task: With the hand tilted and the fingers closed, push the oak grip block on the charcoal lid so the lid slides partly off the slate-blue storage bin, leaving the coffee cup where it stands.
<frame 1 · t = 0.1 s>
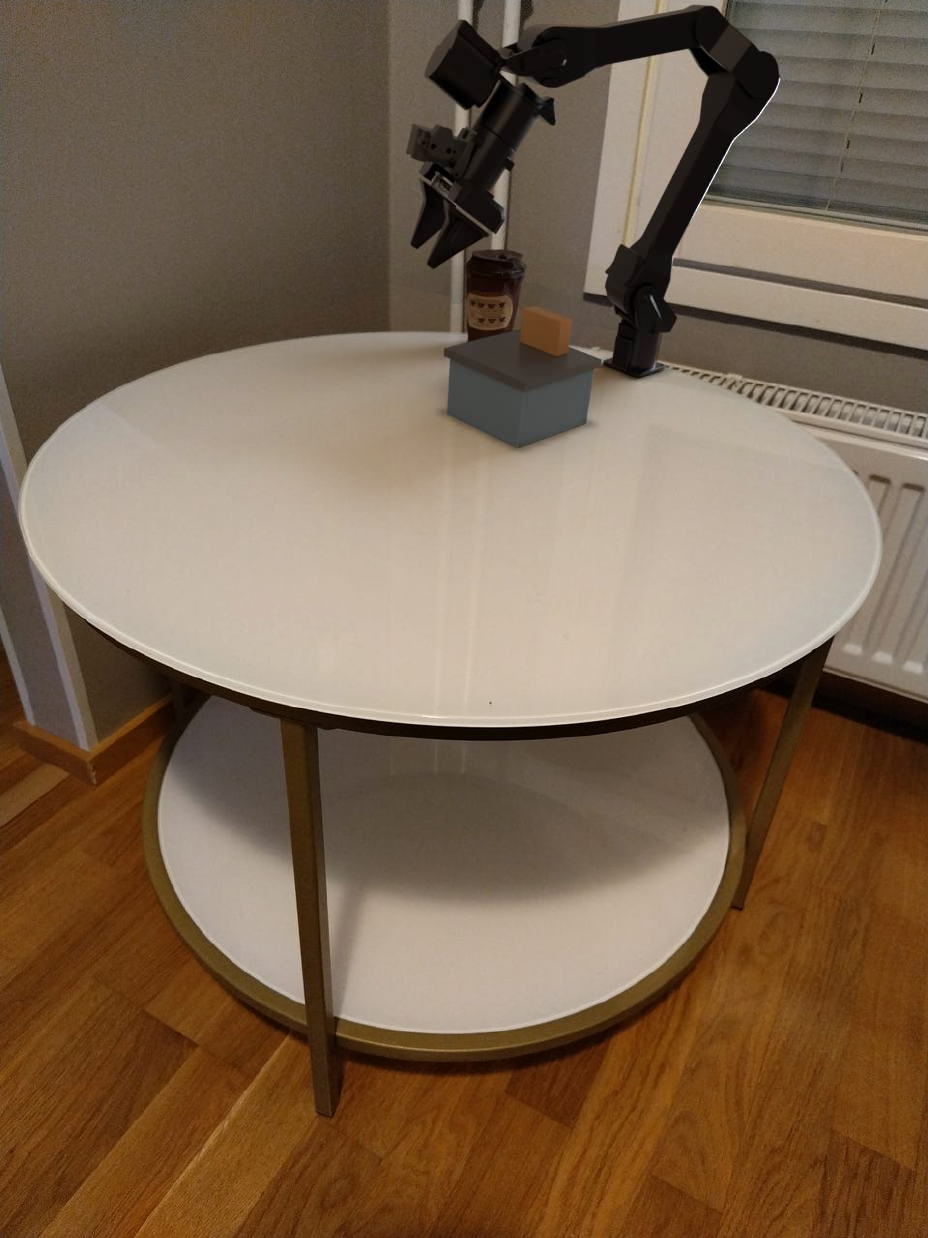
hand: (421, 256, 106), 15 cm above the table, tool tilted 35°, fingers open, 9 cm apart
lid: (522, 361, 100), point 7 cm above the table, touching bin
bin: (516, 418, 104), on the table
coffee cup: (489, 349, 125), on the table
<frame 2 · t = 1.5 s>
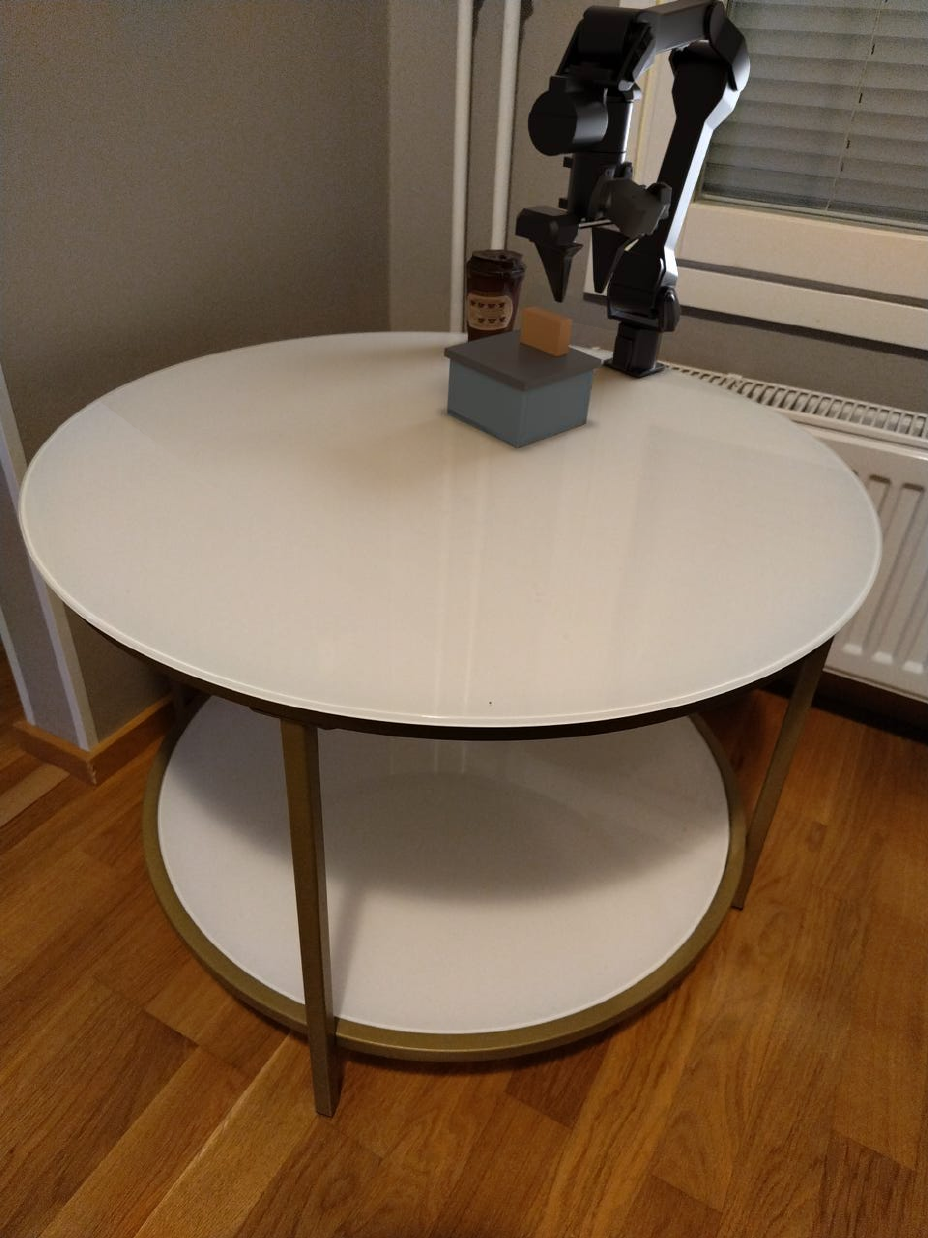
hand: (579, 297, 102), 13 cm above the table, tool pointing down, fingers open, 7 cm apart
nothing on the table moved.
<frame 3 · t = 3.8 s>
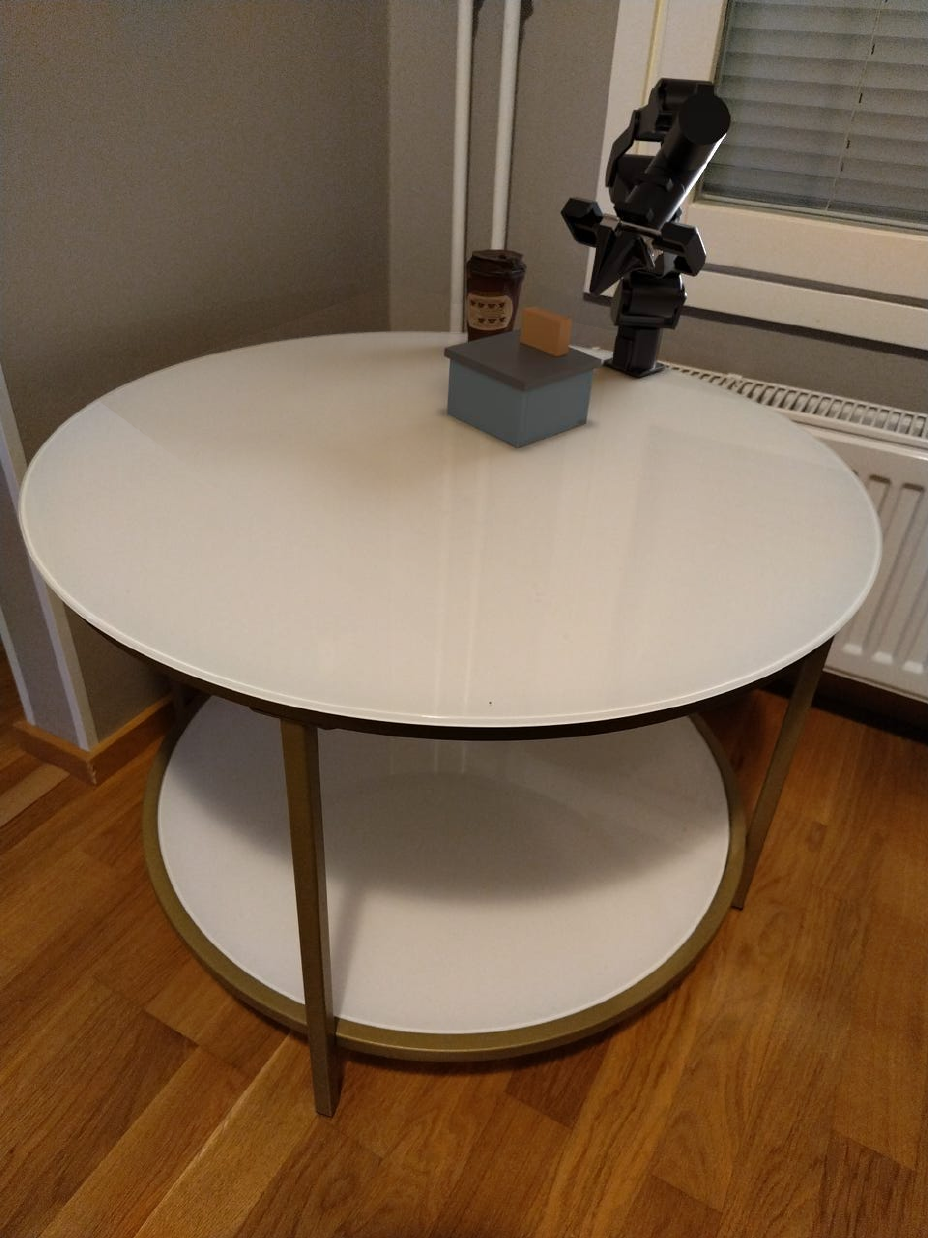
hand: (592, 294, 103), 13 cm above the table, tool tilted 45°, fingers closed
nothing on the table moved.
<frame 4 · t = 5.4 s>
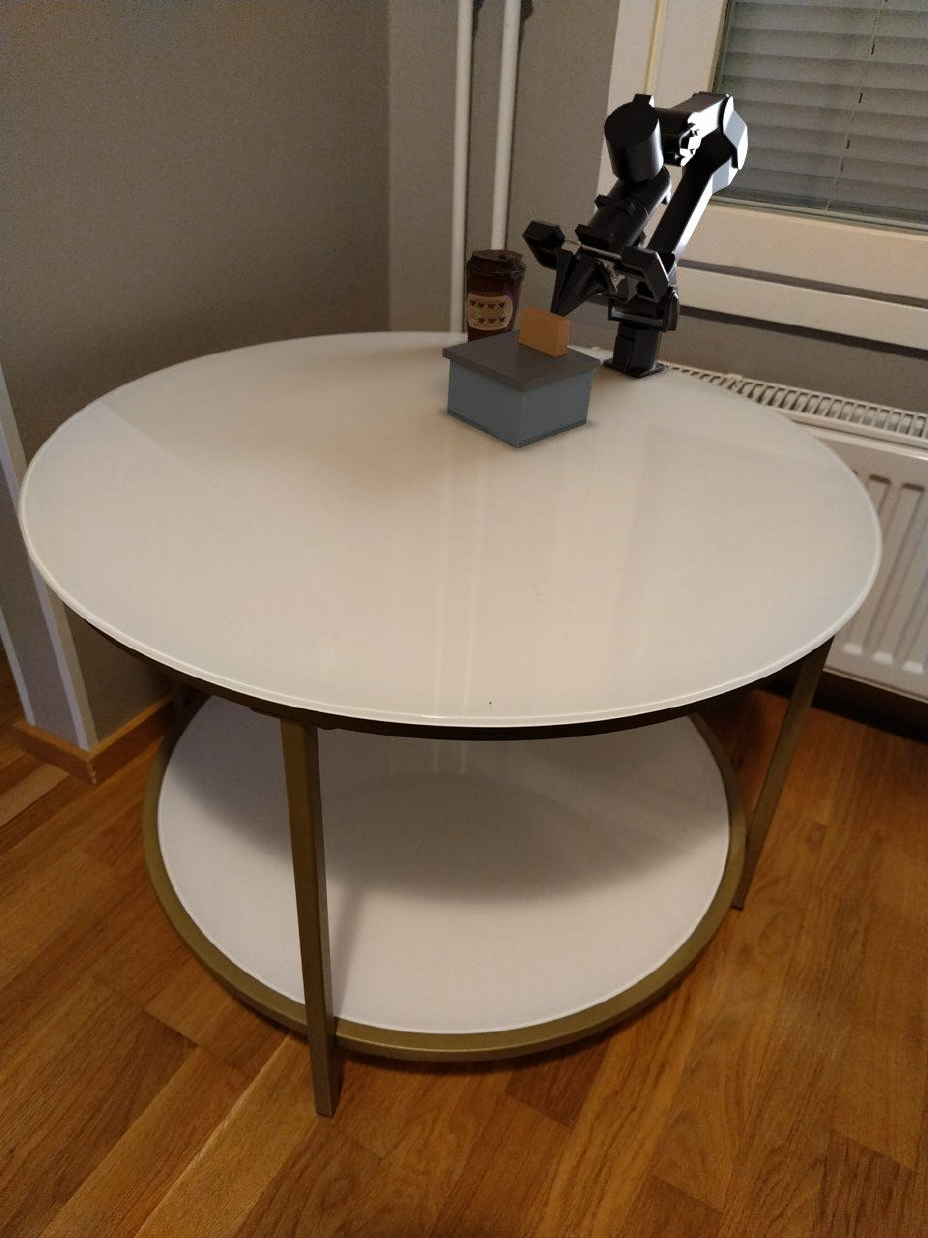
hand: (553, 319, 100), 11 cm above the table, tool tilted 45°, fingers closed, pressing on lid
lid: (520, 362, 100), point 7 cm above the table, touching bin, gripper
everything else where it was.
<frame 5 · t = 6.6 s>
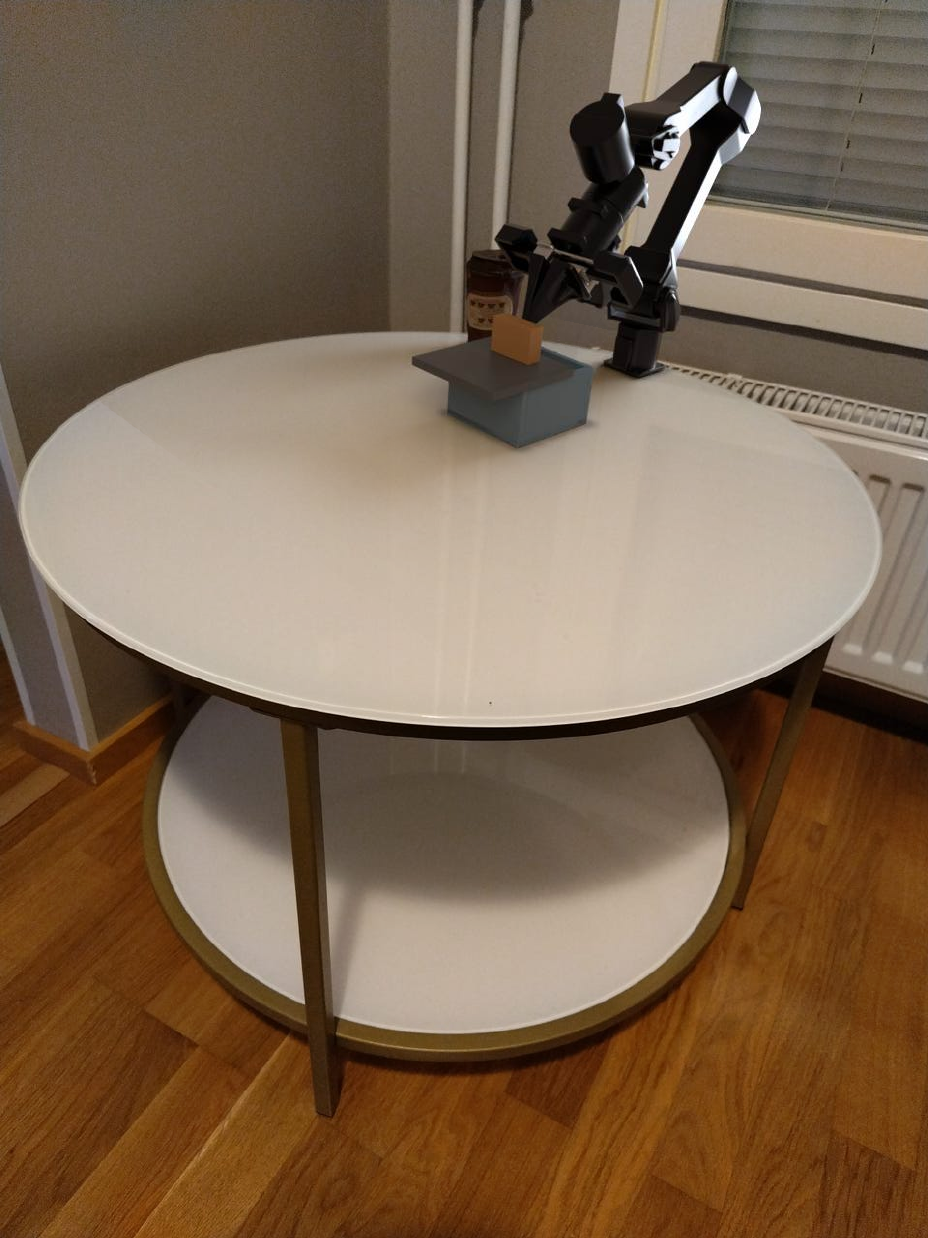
hand: (525, 325, 98), 11 cm above the table, tool tilted 45°, fingers closed, pressing on lid
lid: (492, 370, 97), point 7 cm above the table, touching bin, gripper
everything else where it was.
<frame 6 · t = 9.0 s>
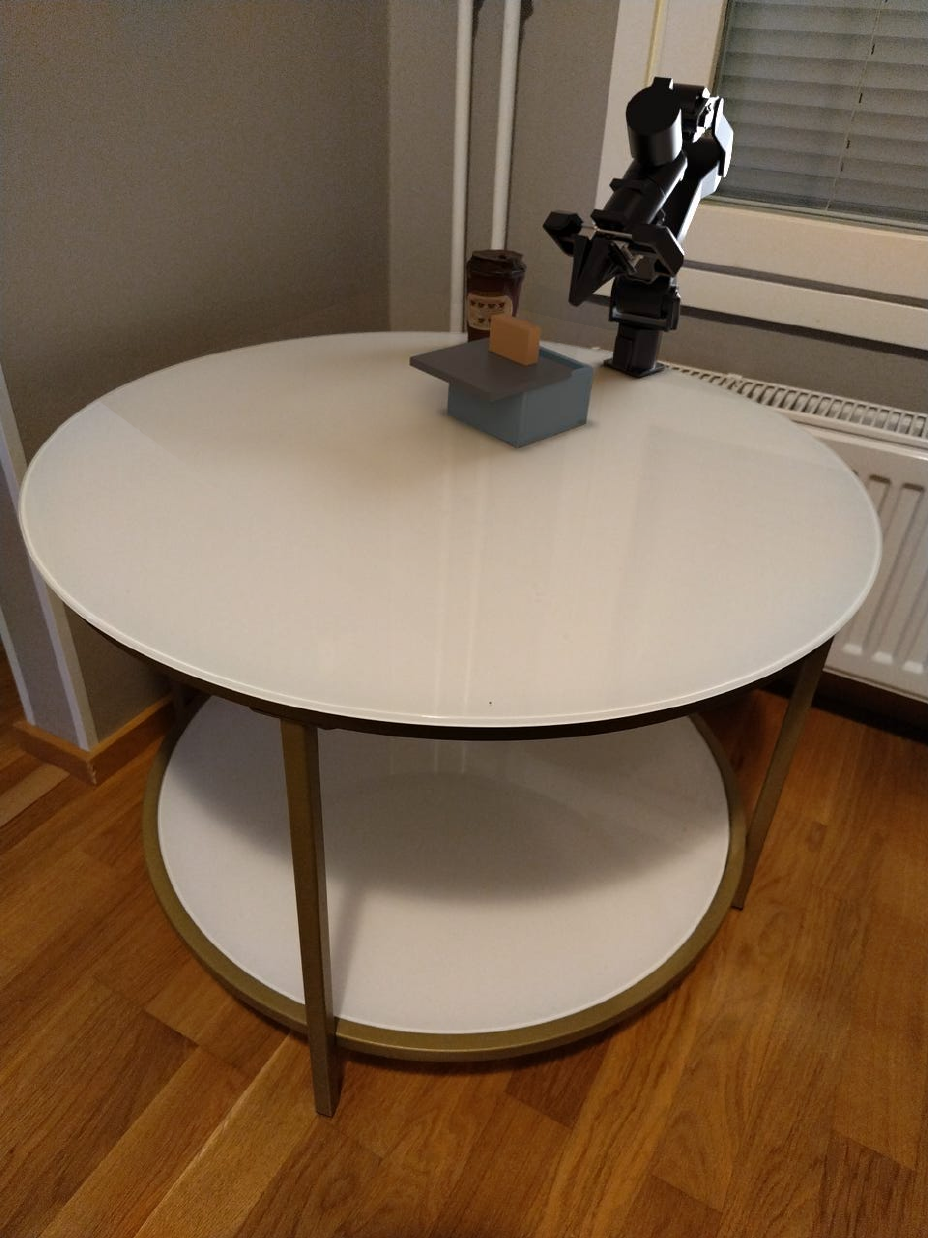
hand: (572, 304, 102), 12 cm above the table, tool tilted 40°, fingers closed
lid: (490, 371, 97), point 7 cm above the table, touching bin
everything else where it was.
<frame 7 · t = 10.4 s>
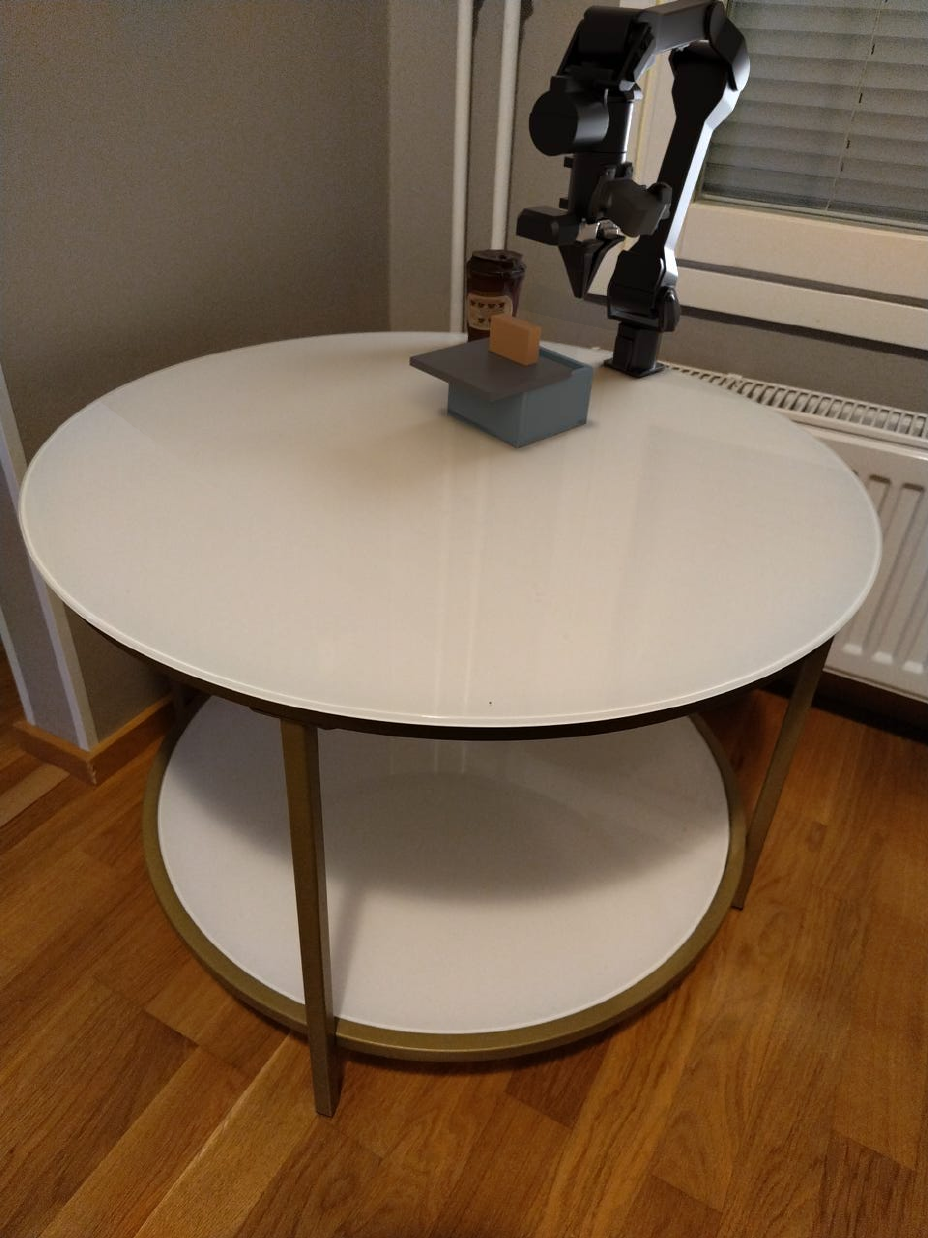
hand: (579, 297, 102), 13 cm above the table, tool pointing down, fingers closed
nothing on the table moved.
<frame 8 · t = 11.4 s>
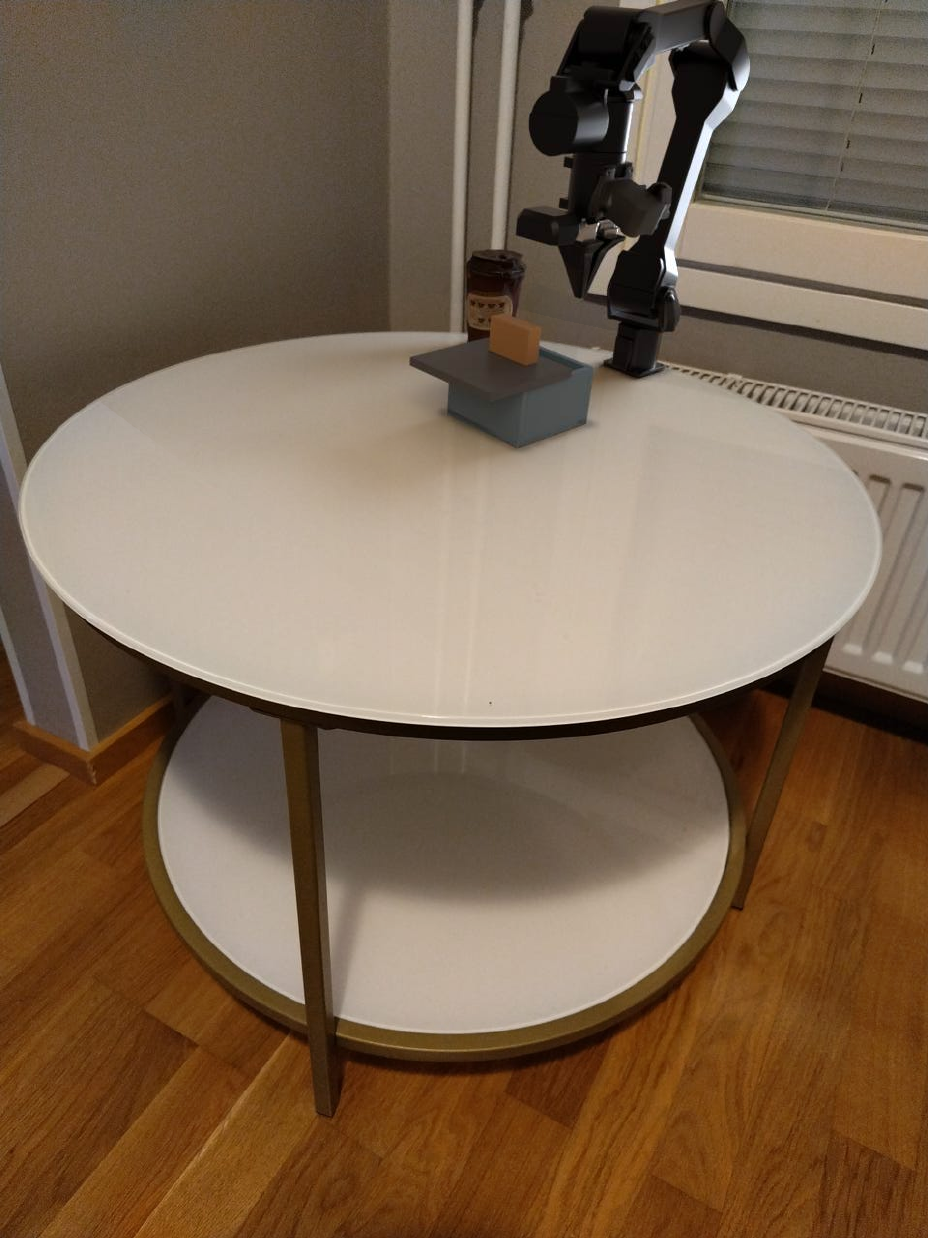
hand: (579, 297, 102), 13 cm above the table, tool pointing down, fingers closed
nothing on the table moved.
at the end: lid 0.3 cm from the target spot on the bin, point 7.0 cm above the bin's base; lid tilted 0°; coffee cup moved 0.2 cm from its start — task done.
